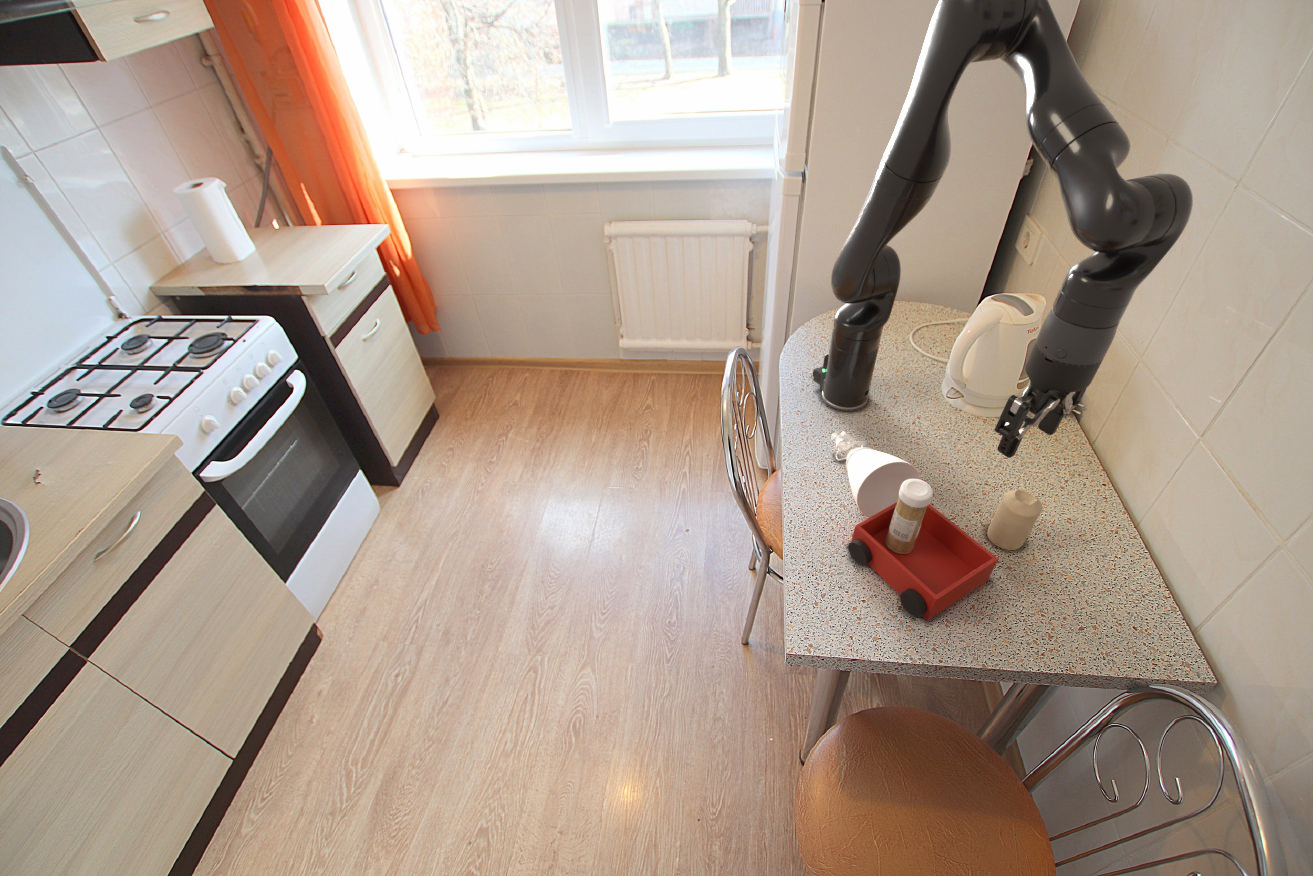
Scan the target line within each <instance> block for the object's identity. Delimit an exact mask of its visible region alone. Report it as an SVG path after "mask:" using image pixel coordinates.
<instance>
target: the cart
mask: <svg viewBox="0 0 1313 876" xmlns="http://www.w3.org/2000/svg"><path fill="white" fill-rule="evenodd" d="M896 505H897V502H896V503H895V504H893V505H891V506H889V507H887V508H886V509H884V510H882V511H880V512H879V513H877V514H875V515H873V516H871V517H870V518H868V517H867V518H866V519H865V520H863V521H861V522H859V523H857V524H855V525H854V529H853V533H852V537H851V541H850V543H851V542H853V541H854V540H861V541H863V542H864V543H865V544H866V545H867V546H868V548H869V549H870V551H871V555H872V559H871V561H870V562H869V563H867V564H866V565H868V567H870V568H871V569H872V570H873V571H874V572H875V573H876V574H878V576H880V577H881V578H882V579H883V580H884V581H885V582H886V584H888V585H889V586H890V587H891V588H892V589H893V590H894V591H895V592H896V593H897V594H899V595H900V594H901V593H902V592H904V591H905V590H907V589H913V590H915V591H917V592H918V593H919V594H920V595H921V596H922V597H923V599H924V600H925V602H926V605H927V611H926V613H924V614H923V615H921V616H922V617H923V618H924V619H925V620H926V622H927V621H929V620H931V619H932V618H934V617H936V616H937V615H938V614H940V613H941V612H943V611H945V610H947V608H949V607H950V606H952V605H953V604H955V603H956V602H958V601H959V600H961V599H962V598H964V597H966V596H967V595H968V594H970V593H971V592H973V591H974V590H976V589H977V588H979V587H980V586H982V585H983V584H985V583H986V582H988V580H989V579H990V577H991V575H992V573H993V571H994V569H995V567H996V565H997V563H998V562H999V560H1000V559H999V557H997V556H996V555H994V553H993V552H991V551H990V550H988V549H987V548H986V547H985V546H983V545H982V544H981V543H980V542H978V541H977V540H976V539H975V538H973V537H971V535H969V534H968V533H967V532H966V531H964V530H963V529H962V528H960V526H958V525H957V524H955V522H953V521H951V520H950V519H949V518H947V516H945V515H944V514H943V513H941V512H940V511H939V510H938V509H936V508H935V507H934V506H933V505H932V504H930V503H929V504H928V506H927V508H926V512H925V514H924V518H923V520H922V524H921V528H920V531H919V533H918V536H917V538H916V541H915V543H914V548H913V550H912V551H911V552H910V553H908V554H898V553H895V552H893V551H891V550H890V549H889V548H888V547H887V545H886V543H885V539H886V536H887V535H888V532H889V527H890V523H891V520H892V517H893V514H894V510H895V507H896Z"/></svg>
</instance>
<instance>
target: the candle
mask: <svg viewBox="0 0 1313 876" xmlns="http://www.w3.org/2000/svg"><path fill="white" fill-rule="evenodd" d="M1042 511H1043V504H1042V502H1041V501H1040V499H1039V498H1038V497H1037V496H1036V495H1034V494H1033V493H1032V492H1029V491H1026V490H1024V489H1013V490H1012V489H1011V490H1008V491H1006V492H1005V493H1004V495H1003V496H1002V499H1001V500H1000V503H999V505H998V507H997V508H996V510H995V513H994V515H993V517H992V520H991V521H990V524H989V526H988V527H987V531H986V534H987V538H988V540H989V541H990V542H991V543H992V544H993V545H995V546H996V547H998V548H1000V549H1002V550H1006V551H1015V550H1019V549H1020V548H1022V546H1023V545H1024V544H1025V542H1026V540H1027V538H1028V537H1029V535H1030V533H1031V531H1032V529H1033V528H1034V526H1035V524H1036V522H1037V520H1038V519H1039V517H1040V516H1041V513H1042Z"/></svg>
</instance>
